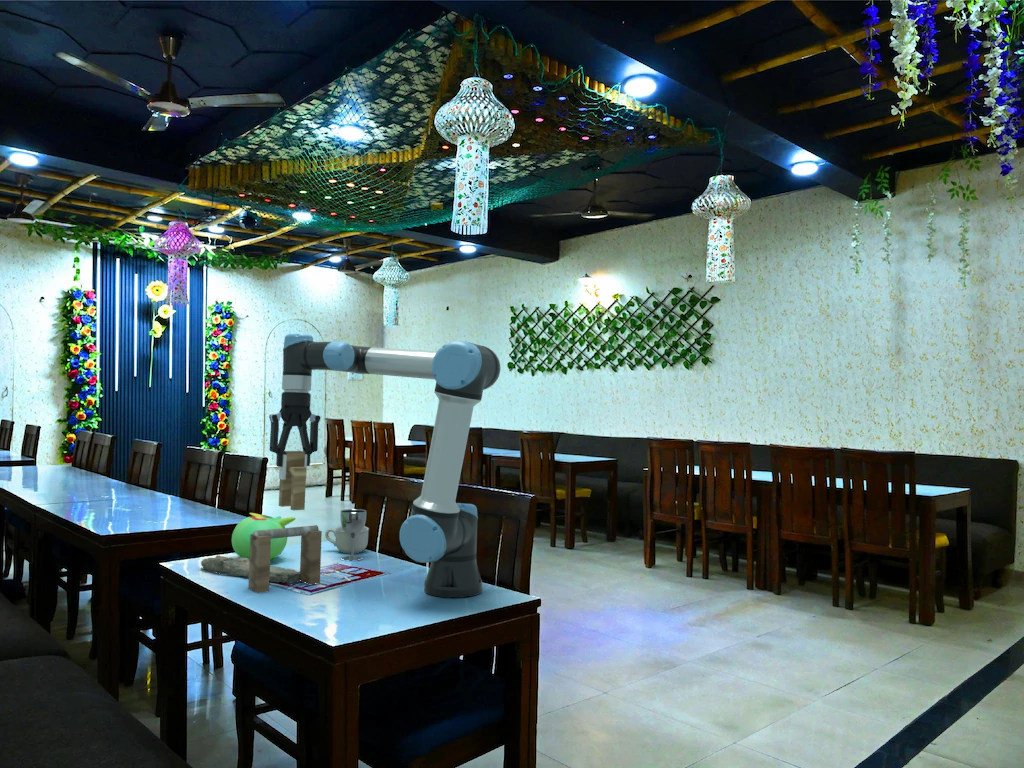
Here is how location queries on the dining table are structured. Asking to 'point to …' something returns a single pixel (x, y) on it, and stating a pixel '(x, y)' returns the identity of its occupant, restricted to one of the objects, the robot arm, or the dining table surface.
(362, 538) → the teacup
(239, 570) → the elongated rock
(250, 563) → the rod stand
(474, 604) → the dining table surface
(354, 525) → the wine glass
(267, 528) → the green bird toy
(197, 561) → the dining table surface
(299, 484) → the oak hanger
